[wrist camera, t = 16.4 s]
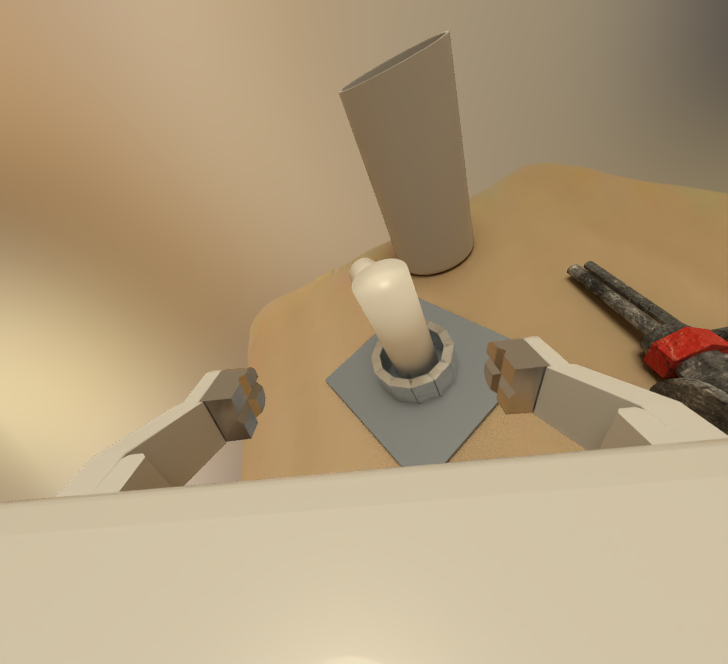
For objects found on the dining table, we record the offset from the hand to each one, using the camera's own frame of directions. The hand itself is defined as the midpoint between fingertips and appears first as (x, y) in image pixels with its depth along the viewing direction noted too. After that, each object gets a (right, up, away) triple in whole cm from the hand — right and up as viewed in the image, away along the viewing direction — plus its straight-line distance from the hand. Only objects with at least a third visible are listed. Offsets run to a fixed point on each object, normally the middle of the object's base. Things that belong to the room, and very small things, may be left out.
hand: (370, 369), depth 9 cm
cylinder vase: (+12, +15, +37) cm, 42 cm away
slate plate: (+6, -3, +23) cm, 24 cm away
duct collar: (+6, -3, +23) cm, 24 cm away
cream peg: (+6, -2, +24) cm, 24 cm away
